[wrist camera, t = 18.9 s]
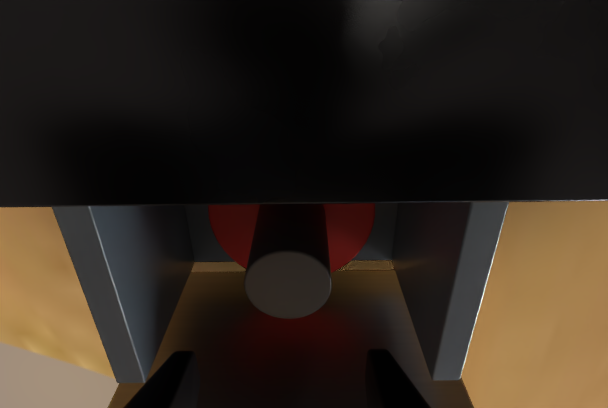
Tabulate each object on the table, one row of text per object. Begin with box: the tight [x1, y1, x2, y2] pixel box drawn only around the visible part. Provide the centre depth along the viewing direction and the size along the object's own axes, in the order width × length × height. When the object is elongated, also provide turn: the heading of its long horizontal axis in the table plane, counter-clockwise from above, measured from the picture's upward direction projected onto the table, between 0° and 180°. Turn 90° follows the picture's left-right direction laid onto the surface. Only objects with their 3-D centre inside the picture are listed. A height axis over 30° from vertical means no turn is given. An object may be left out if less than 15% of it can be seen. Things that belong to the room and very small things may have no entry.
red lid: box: [208, 203, 375, 319], centre depth 12 cm, size 6×6×4 cm
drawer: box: [52, 202, 509, 408], centre depth 13 cm, size 17×11×7 cm, turn 1°
